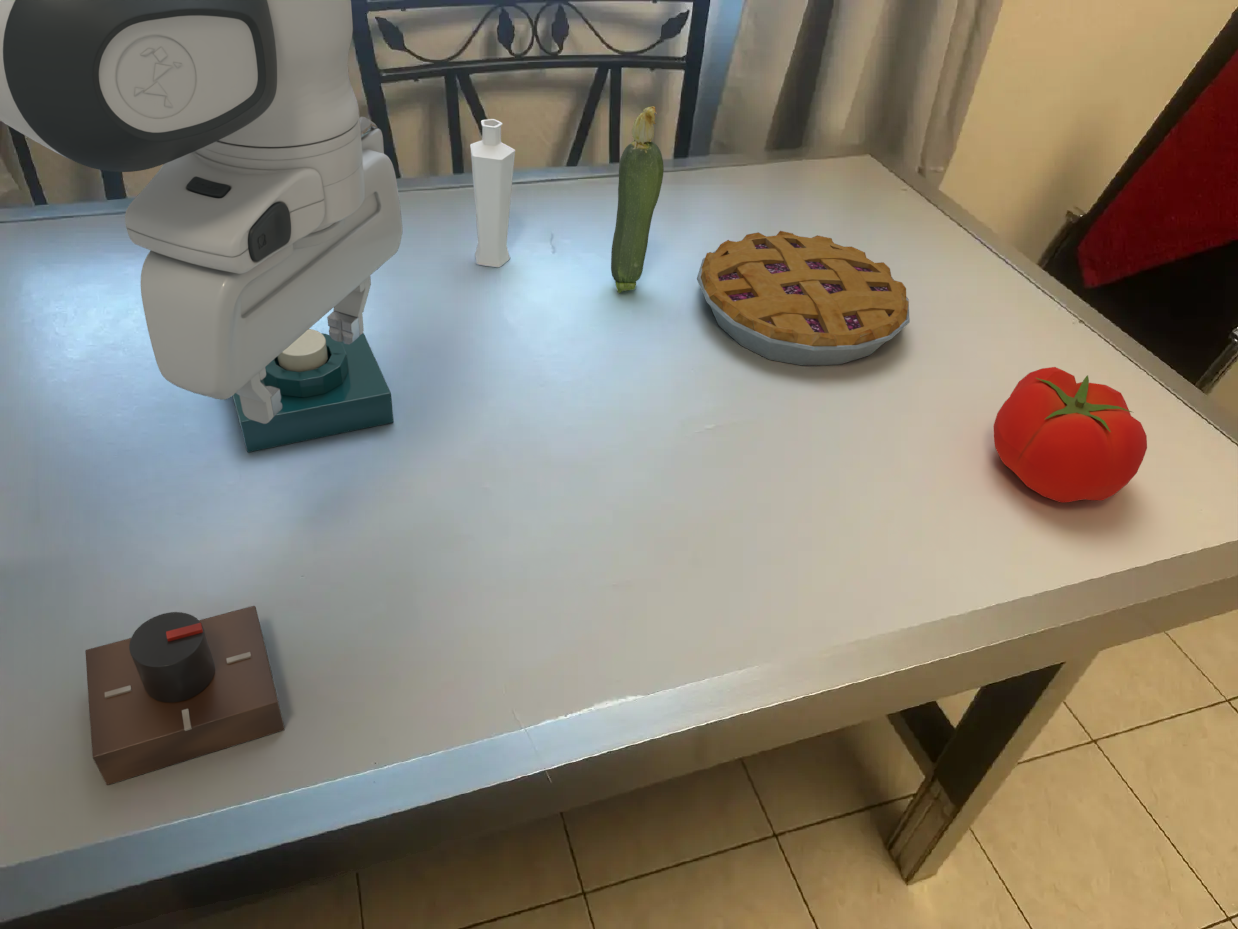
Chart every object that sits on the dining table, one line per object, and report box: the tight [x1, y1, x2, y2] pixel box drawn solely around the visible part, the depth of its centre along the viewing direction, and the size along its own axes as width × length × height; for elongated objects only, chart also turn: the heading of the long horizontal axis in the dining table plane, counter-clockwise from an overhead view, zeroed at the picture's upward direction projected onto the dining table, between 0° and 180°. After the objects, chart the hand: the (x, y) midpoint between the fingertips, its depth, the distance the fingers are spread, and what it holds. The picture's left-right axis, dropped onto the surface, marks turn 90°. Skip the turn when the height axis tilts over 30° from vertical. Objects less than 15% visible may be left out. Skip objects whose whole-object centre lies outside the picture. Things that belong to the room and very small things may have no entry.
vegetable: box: [610, 105, 665, 295], centre depth 95 cm, size 4×4×20 cm
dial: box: [129, 611, 215, 703], centre depth 56 cm, size 4×4×4 cm
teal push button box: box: [231, 332, 395, 453], centre depth 81 cm, size 12×10×5 cm
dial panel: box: [85, 605, 286, 786], centre depth 59 cm, size 10×8×3 cm
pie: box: [696, 230, 911, 366], centre depth 99 cm, size 22×22×5 cm
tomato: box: [993, 366, 1148, 504], centre depth 82 cm, size 13×12×8 cm
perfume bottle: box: [469, 118, 516, 268], centre depth 99 cm, size 5×4×15 cm
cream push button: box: [277, 328, 328, 372], centre depth 79 cm, size 4×4×2 cm
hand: (307, 374), depth 61 cm, fingers open, 8 cm apart
